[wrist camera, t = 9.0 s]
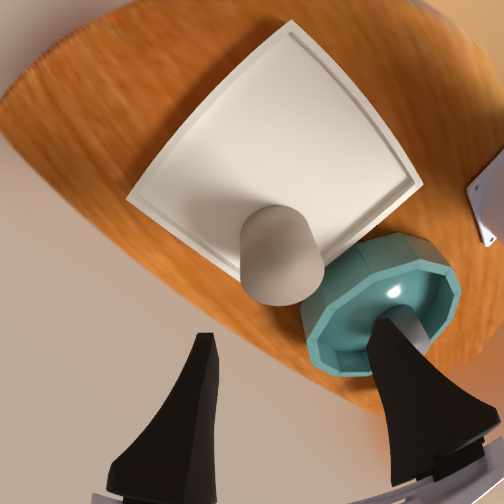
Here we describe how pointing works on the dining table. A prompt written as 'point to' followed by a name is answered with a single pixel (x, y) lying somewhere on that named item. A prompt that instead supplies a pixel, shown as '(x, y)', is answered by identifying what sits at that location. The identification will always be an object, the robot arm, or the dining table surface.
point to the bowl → (375, 298)
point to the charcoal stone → (407, 325)
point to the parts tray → (278, 155)
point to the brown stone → (279, 257)
